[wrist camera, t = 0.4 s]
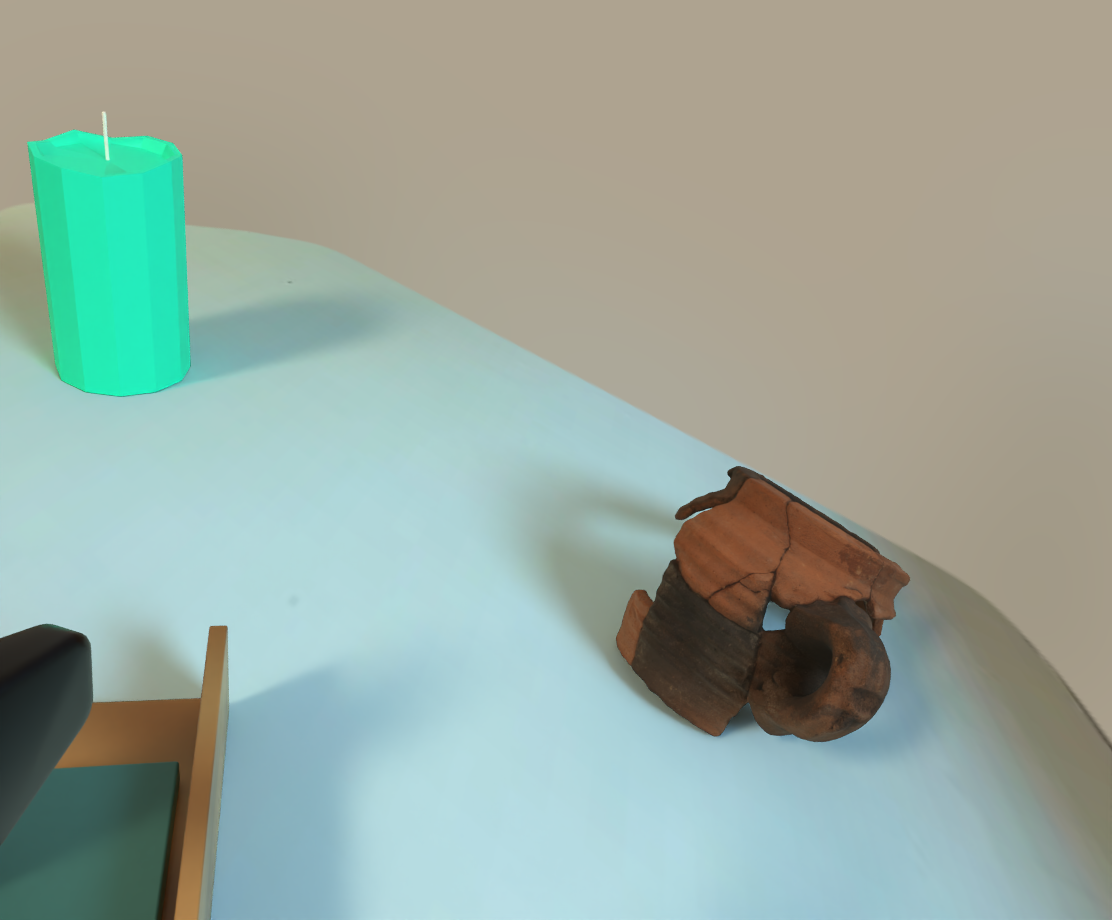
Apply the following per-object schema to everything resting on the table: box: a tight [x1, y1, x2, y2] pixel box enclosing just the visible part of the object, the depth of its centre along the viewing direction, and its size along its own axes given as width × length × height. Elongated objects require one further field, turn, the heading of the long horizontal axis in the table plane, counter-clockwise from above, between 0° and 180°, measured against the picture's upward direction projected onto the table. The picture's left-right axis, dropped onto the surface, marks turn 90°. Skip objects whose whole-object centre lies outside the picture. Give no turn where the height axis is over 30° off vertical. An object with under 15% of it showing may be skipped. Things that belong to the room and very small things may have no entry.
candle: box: [27, 112, 191, 396], centre depth 42 cm, size 6×6×12 cm
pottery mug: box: [616, 466, 910, 742], centre depth 33 cm, size 12×10×8 cm
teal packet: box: [0, 761, 180, 920], centre depth 23 cm, size 5×4×1 cm
